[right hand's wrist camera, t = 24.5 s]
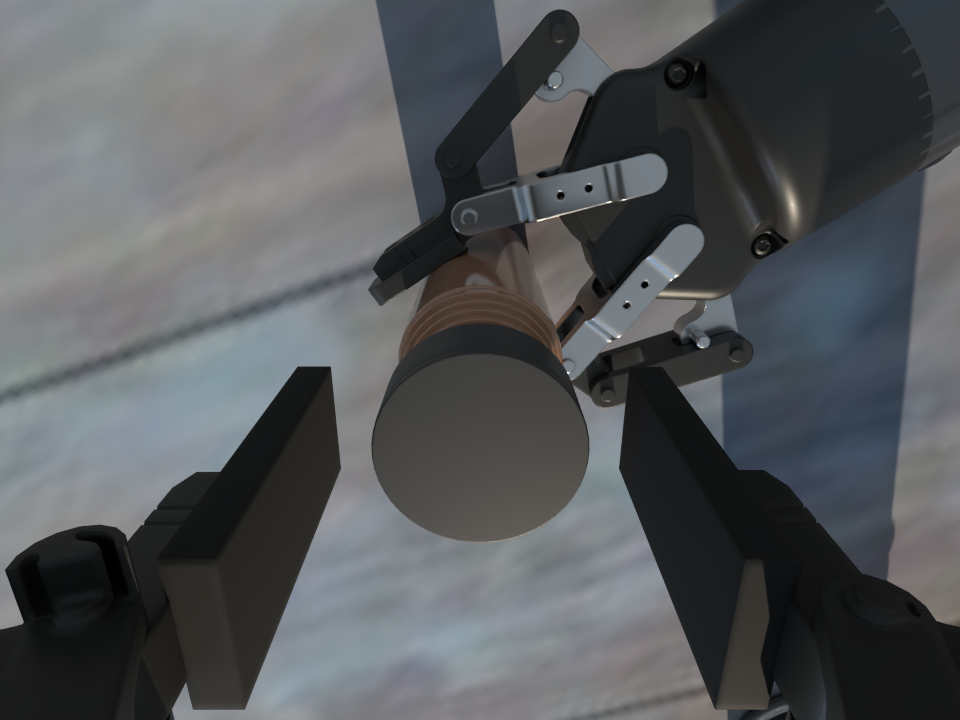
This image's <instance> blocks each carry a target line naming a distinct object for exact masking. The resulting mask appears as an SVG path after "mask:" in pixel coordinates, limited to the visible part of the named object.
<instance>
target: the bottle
mask: <svg viewBox="0 0 960 720" xmlns="http://www.w3.org/2000/svg"><path fill="white" fill-rule="evenodd" d="M474 323H486V324H496V325H502V326H506V327H510V328H513V329H517V330H519V331H521V332H524V333H526V334H528V335H530V336H531V337H533V338H535V339H537V340H538V341H540V342H541V343H542V344H543V345H545V346H546V347H547V348H549V349H550V350H551V351H552V353H553V354H554V355H555V356H556V357H557V358H558V359H559V360H560V362H561V363H562V365H563V359H562V349H561V344H560V341H559V338H558V335H557V332H556V329H555V326H554V324H553V321H552V318H551V315H550V312H549V310H548V307H547V304H546V301H545V298H544V296H543V293H542V290H541V287H540V284H539V282H538V279H537V276H536V273H535V270H534V268H533V265H532V262H531V259H530V257H529V254H528V251H527V248H526V246H525V244H524V242H523V241H522V240H521V238H520V237H519V236H518V235H517V233H516V232H514V231H513V230H512V229H511V228H509V227H504V228H500V229H497V230H493V231H489V232H485V233H481V234H477V235H475V236H473V237H472V238H470V239H469V240H467V241H466V250H465V251H464V252H462V253H461V254H459V255H458V256H456V257H455V258H453V259H452V260H450V261H449V262H447V263H445V264H443V265H442V266H440V267H439V268H438V269H436V270H435V271H434V272H432V273H431V274H429V275H428V276H426V277H425V278H423V281H422V283H421V286H420V289H419V292H418V295H417V297H416V300H415V303H414V306H413V309H412V311H411V314H410V317H409V320H408V323H407V325H406V328H405V331H404V334H403V337H402V340H401V344H400V347H399V355H398V364H399V363H400V362H401V360H402V359H403V358H404V357H405V355H406V354H407V353H408V352H409V351H410V350H412V349H413V348H414V347H415V346H416V345H417V344H419V343H420V342H421V341H423V340H424V339H426V338H427V337H429V336H431V335H433V334H435V333H437V332H439V331H442V330H445V329H448V328H450V327H455V326H459V325H464V324H474Z"/></svg>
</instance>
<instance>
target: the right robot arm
mask: <svg viewBox="0 0 960 720" xmlns="http://www.w3.org/2000/svg"><path fill="white" fill-rule="evenodd" d="M340 469H341V465H340V455H339V445H338V435H337V425H336V415H335V405H334V395H333V385H332V374H331V367H297V368H296V370H295V371H294V373H293V374H292V375H291V377H290V378H289V379H288V381H287V382H286V383H285V385H284V386H283V388H282V389H281V390H280V392H279V393H278V394H277V396H276V397H275V398H274V400H273V401H272V402H271V404H270V405H269V407H268V408H267V409H266V411H265V412H264V413H263V415H262V416H261V417H260V419H259V420H258V421H257V423H256V424H255V426H254V427H253V428H252V430H251V431H250V432H249V434H248V435H247V436H246V438H245V439H244V440H243V442H242V443H241V445H240V446H239V447H238V449H237V450H236V451H235V453H234V454H233V455H232V457H231V458H230V460H229V461H228V462H227V464H226V465H225V466H224V468H223V469H222V470H221V472H196V473H194V474H193V475H191V476H190V477H188V478H187V479H185V480H184V481H182V482H181V483H179V484H178V485H176V486H174V487H173V488H172V489H171V490H170V491H169V493H168V494H167V495H166V496H165V497H164V499H163V500H162V501H161V502H160V503H159V505H158V506H157V510H154V511H153V512H152V513H151V514H150V515H149V517H148V518H147V519H146V520H145V521H144V522H145V523H144V525H141V526H140V527H139V529H138V530H137V531H136V532H135V533H134V535H133V536H132V537H131V538H130V539H129V541H128V542H127V539H126V535H125V534H124V533H123V532H121V531H120V530H119V529H117V528H116V527H110V526H105V525H92V526H81V527H76V528H73V529H69V530H66V531H62V532H58V533H56V534H54V535H51V536H49V537H47V538H45V539H43V540H41V541H38V542H36V543H34V544H33V545H32V546H30V547H29V548H27V549H26V550H24V551H23V552H22V553H20V554H19V555H17V556H16V557H15V559H14V560H13V561H12V562H11V563H10V565H9V566H8V567H7V568H6V569H5V571H6V574H7V577H8V580H9V582H10V585H11V588H12V591H13V593H14V596H15V599H16V602H17V604H18V607H19V610H20V612H21V615H22V618H23V621H24V623H23V624H22V625H18V626H15V627H10V628H6V629H1V630H0V720H174V716H173V712H172V708H173V706H174V704H175V702H176V700H177V698H178V696H179V694H180V692H181V691H182V689H183V687H184V685H185V683H187V687H188V691H189V695H190V699H191V703H192V707H193V710H245V708H246V705H247V703H248V700H249V698H250V695H251V693H252V690H253V688H254V685H255V683H256V680H257V678H258V675H259V673H260V670H261V668H262V665H263V663H264V660H265V658H266V655H267V653H268V650H269V648H270V645H271V642H272V640H273V637H274V635H275V632H276V630H277V627H278V625H279V622H280V620H281V617H282V615H283V612H284V610H285V607H286V605H287V602H288V600H289V597H290V595H291V592H292V590H293V587H294V585H295V582H296V580H297V577H298V575H299V572H300V570H301V567H302V565H303V562H304V560H305V557H306V555H307V552H308V550H309V547H310V545H311V542H312V540H313V537H314V535H315V532H316V530H317V527H318V525H319V522H320V519H321V517H322V514H323V512H324V509H325V507H326V504H327V502H328V499H329V497H330V494H331V492H332V489H333V487H334V484H335V482H336V479H337V477H338V474H339V472H340ZM619 469H620V472H621V474H622V477H623V479H624V482H625V484H626V487H627V489H628V492H629V494H630V497H631V499H632V502H633V504H634V507H635V509H636V512H637V514H638V517H639V519H640V522H641V525H642V527H643V530H644V532H645V535H646V537H647V540H648V542H649V545H650V547H651V550H652V552H653V555H654V557H655V560H656V562H657V565H658V567H659V570H660V572H661V575H662V577H663V580H664V582H665V585H666V587H667V590H668V592H669V595H670V597H671V600H672V602H673V605H674V607H675V610H676V612H677V615H678V617H679V620H680V622H681V625H682V627H683V630H684V632H685V635H686V637H687V640H688V642H689V645H690V648H691V650H692V653H693V655H694V658H695V660H696V663H697V665H698V668H699V670H700V673H701V675H702V678H703V680H704V683H705V685H706V688H707V690H708V693H709V695H710V698H711V700H712V703H713V705H714V708H715V710H767V707H768V703H769V699H770V695H771V691H772V687H773V683H774V680H775V682H776V684H777V686H778V687H779V689H780V691H781V693H782V695H783V697H784V699H785V701H786V703H787V705H788V706H789V708H788V712H787V716H786V720H960V627H957V626H953V625H948V624H944V623H941V622H937V621H936V620H935V619H934V617H933V616H932V614H931V613H930V611H929V610H928V609H927V607H926V606H925V605H924V604H922V603H921V602H920V601H919V600H917V599H916V598H915V597H914V596H913V595H911V594H910V593H909V592H907V591H905V590H903V589H901V588H899V587H898V586H896V585H894V584H892V583H890V582H888V581H885V580H882V579H879V578H876V577H872V576H869V575H866V574H862V573H861V572H860V571H859V570H858V569H857V567H856V566H855V565H854V564H853V563H852V561H851V560H850V559H849V558H848V557H847V556H846V554H845V553H844V552H843V551H842V550H841V548H840V547H839V546H838V545H837V544H836V542H835V541H834V540H833V539H832V538H831V536H830V535H829V534H828V533H827V532H826V531H825V529H824V528H823V527H822V526H821V525H820V523H816V519H815V517H814V516H813V515H812V514H811V513H810V511H809V510H808V509H807V508H804V507H803V503H802V502H801V501H800V500H799V498H798V497H797V496H796V495H795V494H794V492H793V491H792V490H791V489H790V488H789V486H787V485H786V484H784V483H783V482H781V481H780V480H778V479H777V478H775V477H774V476H772V475H770V474H769V473H767V472H766V471H764V470H738V469H737V468H736V466H735V465H734V464H733V462H732V461H731V460H730V458H729V457H728V455H727V454H726V453H725V451H724V450H723V449H722V447H721V446H720V445H719V443H718V442H717V440H716V439H715V438H714V436H713V435H712V434H711V432H710V431H709V430H708V428H707V427H706V426H705V424H704V423H703V421H702V420H701V419H700V417H699V416H698V415H697V413H696V412H695V411H694V409H693V408H692V407H691V405H690V404H689V402H688V401H687V400H686V398H685V397H684V396H683V394H682V393H681V392H680V390H679V389H678V388H677V386H676V385H675V383H674V382H673V381H672V379H671V378H670V377H669V375H668V374H667V373H666V371H665V370H664V368H663V367H629V374H628V385H627V395H626V405H625V415H624V425H623V435H622V445H621V455H620V465H619Z"/></svg>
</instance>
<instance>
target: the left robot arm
mask: <svg viewBox="0 0 960 720" xmlns="http://www.w3.org/2000/svg"><path fill="white" fill-rule="evenodd" d="M572 91H580V92H583V93H584V94H586V95H587V96H588V99H587V102H586V104H585V107H584V109H583V112H582V114H581V117H580V119H579V122H578V124H577V127H576V129H575V132H574V134H573V137H572V139H571V142H570V144H569V147H568V149H567V152H566V154H565V157H564V159H563V162H562V164H561V165H557V166H553V167H549V168H546V169H542V170H538V171H534V172H531V173H527V174H523V175H520V176H517V177H514V178H512V179H510V180H506V181H502V182H499V183H495V184H491V185H487V186H484V187H482V184H481V180H480V176H479V172H478V167H477V163H476V162H477V161H478V160H479V159H480V158H481V157H482V155H483V154H484V153H485V152H486V151H487V149H488V148H489V147H490V146H491V145H492V144H493V142H494V141H495V140H496V139H497V138H498V136H499V135H500V134H501V133H502V132H503V131H504V129H505V128H506V127H507V126H508V125H509V123H510V122H511V121H512V120H513V119H514V118H515V116H516V115H517V114H518V113H519V112H520V110H521V109H522V108H523V107H524V106H525V105H526V103H527V102H528V101H529V100H530V99H531V98H532V96H533V95H535V96H536V97H537V98H538V99H539V100H541V101H543V102H555V101H558V100H561V99H562V98H564V97H565V96H566V95H567V94H568V93H570V92H572ZM958 146H960V0H744V1H743V2H741V3H740V4H738V5H737V6H736V7H734V8H733V9H731V10H730V11H728V12H727V13H725V14H724V15H723V16H721V17H720V18H718V19H717V20H715V21H714V22H712V23H711V24H710V25H708V26H707V27H705V28H704V29H702V30H701V31H699V32H698V33H697V34H695V35H694V36H692V37H691V38H689V39H688V40H686V41H685V42H684V43H682V44H681V45H679V46H678V47H676V48H675V49H673V50H672V51H670V52H669V53H668V54H666V55H665V56H663V57H662V58H660V59H659V60H657V61H656V62H654V63H652V64H650V65H649V66H646V67H643V68H637V69H625V70H621V71H618V72H615V73H614V72H613V71H612V70H611V69H610V68H609V67H608V66H607V64H606V63H605V62H604V61H603V60H602V59H601V58H600V57H599V56H598V55H597V54H596V53H595V52H594V51H593V50H592V49H591V47H590V46H589V45H588V44H587V43H586V42H585V41H584V40H583V39H582V38H581V37H580V36H579V25H578V22H577V20H576V18H575V17H574V16H573V15H572V14H571V13H570V12H568V11H566V10H554V11H552V12H550V13H549V14H547V15H546V16H545V17H544V19H543V20H542V21H541V22H540V23H539V25H538V26H537V27H536V28H535V30H534V31H533V32H532V33H531V34H530V36H529V37H528V38H527V39H526V41H525V42H524V43H523V44H522V45H521V47H520V48H519V49H518V50H517V52H516V53H515V54H514V55H513V56H512V58H511V59H510V60H509V61H508V63H507V64H506V65H505V66H504V67H503V69H502V70H501V71H500V72H499V74H498V75H497V76H496V77H495V78H494V80H493V81H492V82H491V83H490V85H489V86H488V87H487V88H486V89H485V91H484V92H483V93H482V94H481V96H480V97H479V98H478V99H477V100H476V102H475V103H474V104H473V105H472V107H471V108H470V109H469V110H468V112H467V113H466V114H465V115H464V116H463V118H462V119H461V120H460V121H459V123H458V124H457V125H456V126H455V127H454V129H453V130H452V131H451V132H450V134H449V135H448V136H447V137H446V138H445V140H444V141H443V142H442V143H441V145H440V146H439V147H438V149H437V151H436V154H435V163H436V167H437V169H438V170H439V172H440V174H441V178H442V182H443V186H444V190H445V194H446V203H445V206H444V208H443V209H442V210H441V211H440V212H438V213H437V214H435V215H434V216H433V217H431V218H430V219H428V220H427V221H425V222H424V223H422V224H421V225H420V226H418V227H417V228H415V229H414V230H412V231H411V232H409V233H408V234H407V235H405V236H404V237H402V238H401V239H400V240H398V241H396V242H395V243H394V244H392V245H391V246H389V247H388V248H386V250H385V251H384V253H383V254H382V255H381V257H380V258H379V260H378V262H377V263H376V265H375V266H374V268H373V270H374V271H375V273H376V274H377V275H378V277H377V278H376V279H375V280H374V281H373V283H372V284H371V286H370V287H369V289H368V291H369V292H370V293H371V295H372V296H373V297H374V298H375V300H376V301H377V302H378V304H379V305H380V306H381V305H384V304H385V303H387V302H389V301H390V300H392V299H393V298H395V297H396V296H398V295H399V294H401V293H402V292H404V291H405V290H407V289H408V288H410V287H411V286H413V285H414V284H416V283H417V282H419V281H420V280H422V279H423V278H425V277H426V276H428V275H429V274H431V273H432V272H434V271H435V270H436V269H438V268H439V267H440V266H442V265H443V264H445V263H447V262H449V261H450V260H452V259H453V258H455V257H456V256H458V255H459V254H461V253H462V252H464V251H465V250H466V241H467V240H469V239H470V238H472V237H473V236H475V235H477V234H481V233H485V232H489V231H493V230H497V229H500V228H504V227H508V226H512V225H516V224H520V223H532V222H538V221H542V220H546V219H550V218H553V217H557V216H559V217H560V218H561V220H562V222H563V223H564V225H565V226H566V227H567V228H568V230H569V231H570V232H571V233H572V234H573V235H574V236H575V237H576V238H577V239H578V240H579V241H580V242H581V245H582V248H583V252H584V255H585V259H586V261H587V263H588V264H589V266H590V268H591V269H592V271H593V272H594V274H593V275H592V276H591V277H590V278H589V280H588V281H587V282H586V283H585V284H584V286H583V287H582V288H581V289H580V291H579V292H578V294H577V297H576V300H575V302H574V303H573V304H572V306H571V307H570V308H569V309H568V310H567V312H566V313H565V314H564V315H563V316H562V318H561V319H560V320H559V321H558V322H557V324H556V325H555V329H556V332H557V335H558V338H559V341H560V344H561V349H562V359H563V366H564V367H565V369H566V371H567V373H568V375H569V377H570V379H571V382H572V385H574V386H575V387H577V388H578V389H580V390H581V391H583V392H584V393H585V394H587V395H588V396H590V397H591V398H592V401H593V402H594V404H595V405H597V406H598V407H600V408H605V409H607V408H613V407H616V406H619V405H622V404H626V395H627V385H628V374H629V367H663V368H664V370H665V371H666V373H667V374H668V375H669V377H670V378H671V379H672V381H673V382H674V383H675V385H676V386H677V388H678V387H681V386H685V385H688V384H691V383H695V382H698V381H701V380H704V379H708V378H711V377H714V376H718V375H721V374H724V373H727V372H731V371H734V370H737V369H740V368H743V367H744V366H746V365H747V364H748V363H749V362H750V361H751V359H752V357H753V347H752V345H751V343H750V342H749V341H747V340H746V339H745V338H744V337H743V336H741V335H740V334H739V332H738V328H737V323H736V318H735V313H734V308H733V303H732V298H731V293H732V292H733V291H734V290H735V289H736V288H737V287H738V286H739V285H740V283H741V282H742V280H743V279H744V277H745V276H746V275H747V273H748V272H749V271H750V270H751V269H752V268H753V267H754V266H755V265H756V264H757V263H758V262H759V261H760V260H762V259H764V258H765V257H767V256H769V255H771V254H774V253H776V252H778V251H780V250H783V249H785V248H787V247H789V246H791V245H793V244H794V243H796V242H798V241H800V240H801V239H803V238H805V237H806V236H808V235H810V234H811V233H813V232H815V231H816V230H818V229H820V228H821V227H823V226H825V225H826V224H828V223H830V222H832V221H833V220H835V219H837V218H838V217H840V216H842V215H843V214H845V213H847V212H848V211H850V210H852V209H853V208H855V207H857V206H858V205H860V204H862V203H863V202H865V201H867V200H869V199H870V198H872V197H874V196H875V195H877V194H879V193H881V192H882V191H884V190H886V189H887V188H889V187H891V186H893V185H894V184H896V183H898V182H899V181H901V180H903V179H904V178H906V177H908V176H909V175H911V174H912V173H914V172H916V171H921V170H924V169H926V168H928V167H930V166H932V165H934V164H936V163H938V162H939V161H941V160H942V159H944V158H945V156H947V155H948V154H949V153H951V152H952V150H953V149H955V148H956V147H958ZM654 299H678V300H697V302H696V305H695V306H694V308H693V309H692V310H691V311H690V312H688V313H686V314H684V315H682V316H681V317H679V318H678V319H677V321H676V322H675V324H674V329H673V330H672V331H668V332H665V333H662V334H659V335H656V336H653V337H649V338H646V339H643V340H640V341H637V342H634V343H631V344H627V345H624V346H621V347H618V348H615V349H612V350H608V351H605V352H602V353H600V352H601V351H602V350H603V348H604V347H605V346H606V345H607V344H608V343H609V342H610V341H612V340H616V339H618V338H620V337H621V336H622V335H623V334H624V333H625V332H626V331H627V330H628V328H629V327H630V326H631V325H632V324H633V323H634V322H635V321H636V319H637V318H638V317H639V316H640V315H641V314H642V313H643V312H644V311H645V309H646V308H647V307H648V306H649V305H650V304H651V303H652V302H653V300H654ZM625 302H627V303H626V304H625V305H623V304H624V303H625ZM788 708H789V706H788V705H787V703H786V701H785V699H784V697H783V696H780V697H777V698H774V699H772V700H770V701H769V703H768V707H767V710H753V711H752V712H750V713H749V714H748V715H747V716H746V717H745V718H744V719H743V720H786V716H787V712H788Z"/></svg>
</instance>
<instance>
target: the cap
mask: <svg viewBox="0 0 960 720" xmlns="http://www.w3.org/2000/svg"><path fill="white" fill-rule="evenodd" d="M588 458H589V435H588V430H587V425H586V422H585V419H584V416H583V413H582V411H581V408H580V405H579V402H578V399H577V396H576V393H575V390H574V388H573V385H572V382H571V379H570V377H569V375H568V373H567V371H566V369H565V367H564V366H563V365H562V363H561V362H560V360H559V359H558V358H557V357H556V356H555V355H554V354H553V353H552V351H551V350H550V349H549V348H547V347H546V346H545V345H543V344H542V343H541V342H540V341H538V340H537V339H535V338H533V337H531V336H530V335H528V334H526V333H524V332H521V331H519V330H517V329H513V328H510V327H506V326H502V325H496V324H486V323H474V324H464V325H459V326H455V327H450V328H448V329H445V330H442V331H439V332H437V333H435V334H433V335H431V336H429V337H427V338H426V339H424V340H423V341H421V342H420V343H419V344H417V345H416V346H415V347H414V348H413V349H412V350H410V351H409V352H408V353H407V354H406V355H405V357H404V358H403V359H402V360H401V362H400V363H399V364H398V366H397V368H396V369H395V371H394V372H393V375H392V377H391V379H390V382H389V384H388V387H387V390H386V392H385V395H384V398H383V401H382V404H381V407H380V410H379V413H378V416H377V418H376V422H375V426H374V429H373V435H372V459H373V464H374V469H375V472H376V475H377V478H378V481H379V483H380V484H381V486H382V488H383V490H384V492H385V494H386V495H387V496H388V498H389V499H390V501H391V502H392V503H393V504H394V505H395V507H396V508H397V509H398V510H399V511H400V512H401V513H402V514H404V515H405V516H406V517H407V518H408V519H410V520H411V521H412V522H414V523H416V524H417V525H419V526H420V527H422V528H424V529H426V530H428V531H430V532H432V533H434V534H437V535H440V536H443V537H446V538H450V539H454V540H458V541H466V542H496V541H502V540H507V539H512V538H515V537H518V536H521V535H524V534H526V533H529V532H531V531H533V530H535V529H537V528H539V527H541V526H542V525H544V524H546V523H547V522H548V521H550V520H551V519H552V518H554V517H555V516H556V515H557V514H558V513H560V512H561V511H562V510H563V509H564V508H565V507H566V505H567V504H568V503H569V502H570V500H571V499H572V498H573V497H574V495H575V493H576V492H577V490H578V488H579V487H580V485H581V482H582V480H583V478H584V475H585V472H586V468H587V464H588Z"/></svg>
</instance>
